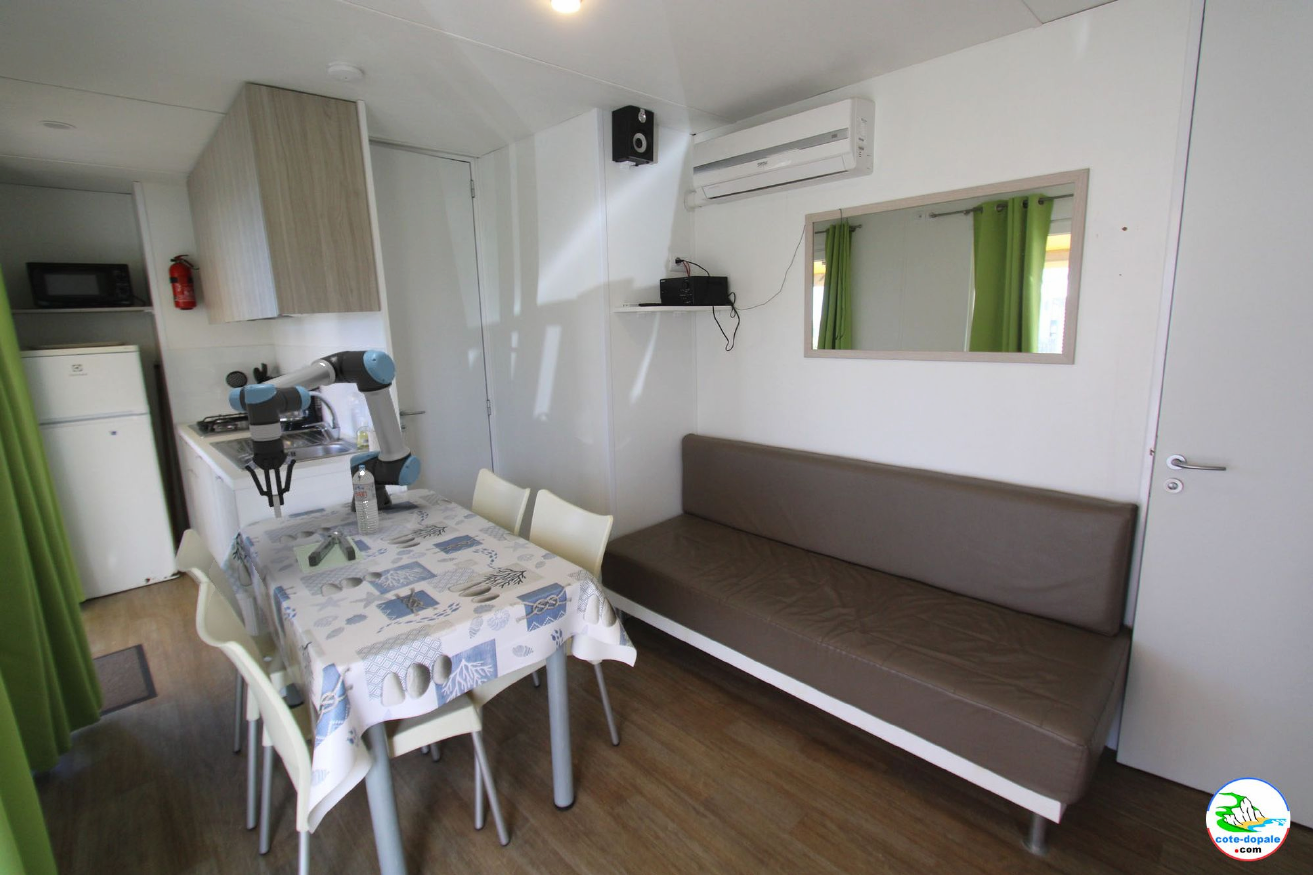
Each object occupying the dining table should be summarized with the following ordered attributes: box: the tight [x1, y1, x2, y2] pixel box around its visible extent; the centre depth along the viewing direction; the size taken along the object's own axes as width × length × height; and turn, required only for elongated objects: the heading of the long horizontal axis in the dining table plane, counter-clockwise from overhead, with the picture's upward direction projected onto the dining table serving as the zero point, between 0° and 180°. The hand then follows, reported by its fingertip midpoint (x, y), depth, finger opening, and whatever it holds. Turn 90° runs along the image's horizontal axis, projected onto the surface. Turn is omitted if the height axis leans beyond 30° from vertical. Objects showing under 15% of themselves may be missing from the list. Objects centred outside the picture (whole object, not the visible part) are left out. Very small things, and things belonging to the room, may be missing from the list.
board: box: [292, 535, 366, 574], centre depth 195 cm, size 17×26×1 cm, turn 36°
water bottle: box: [351, 465, 381, 536], centre depth 212 cm, size 7×7×25 cm
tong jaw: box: [308, 536, 335, 566], centre depth 193 cm, size 2×17×3 cm, turn 11°
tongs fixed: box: [326, 529, 356, 560], centre depth 197 cm, size 5×24×4 cm, turn 36°
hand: (278, 516), depth 180 cm, fingers closed
